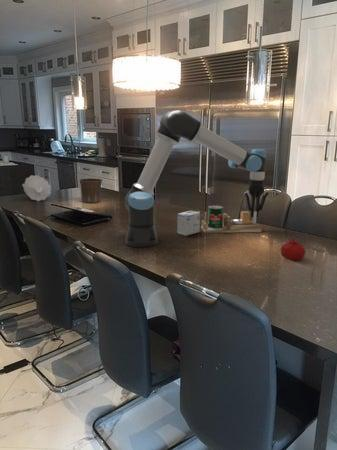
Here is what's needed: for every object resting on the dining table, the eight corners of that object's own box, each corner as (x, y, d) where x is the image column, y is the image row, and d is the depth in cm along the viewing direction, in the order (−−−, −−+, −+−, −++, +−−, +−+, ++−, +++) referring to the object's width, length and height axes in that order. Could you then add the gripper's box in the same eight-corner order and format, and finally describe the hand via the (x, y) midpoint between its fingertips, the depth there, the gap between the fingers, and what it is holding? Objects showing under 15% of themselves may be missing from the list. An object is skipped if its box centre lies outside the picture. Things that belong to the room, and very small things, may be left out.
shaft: (249, 227, 198) (250, 212, 196) (232, 227, 197) (233, 212, 195) (247, 225, 202) (248, 211, 200) (230, 225, 201) (231, 211, 199)
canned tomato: (217, 224, 204) (218, 204, 201) (225, 228, 197) (226, 207, 194) (204, 225, 201) (205, 205, 198) (212, 229, 194) (212, 208, 191)
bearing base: (261, 231, 197) (262, 217, 194) (204, 232, 193) (205, 217, 191) (255, 226, 206) (256, 212, 204) (201, 227, 203) (201, 213, 201)
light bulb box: (190, 229, 199) (191, 210, 197) (200, 232, 195) (200, 212, 192) (176, 233, 192) (177, 213, 189) (186, 236, 188) (186, 215, 185)
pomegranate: (291, 264, 151) (293, 242, 148) (275, 256, 160) (276, 235, 157) (310, 260, 155) (312, 239, 152) (293, 252, 163) (295, 232, 161)
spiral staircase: (40, 201, 291) (47, 205, 269) (18, 193, 282) (22, 196, 260) (49, 179, 291) (56, 182, 269) (27, 170, 282) (32, 172, 260)
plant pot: (92, 198, 281) (91, 177, 277) (107, 201, 272) (106, 179, 268) (75, 202, 268) (74, 179, 264) (90, 204, 259) (90, 181, 255)
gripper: (266, 178, 198) (263, 221, 204) (242, 178, 197) (240, 221, 203) (271, 180, 191) (267, 224, 197) (247, 180, 190) (244, 224, 196)
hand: (253, 222), depth 200 cm, fingers closed
